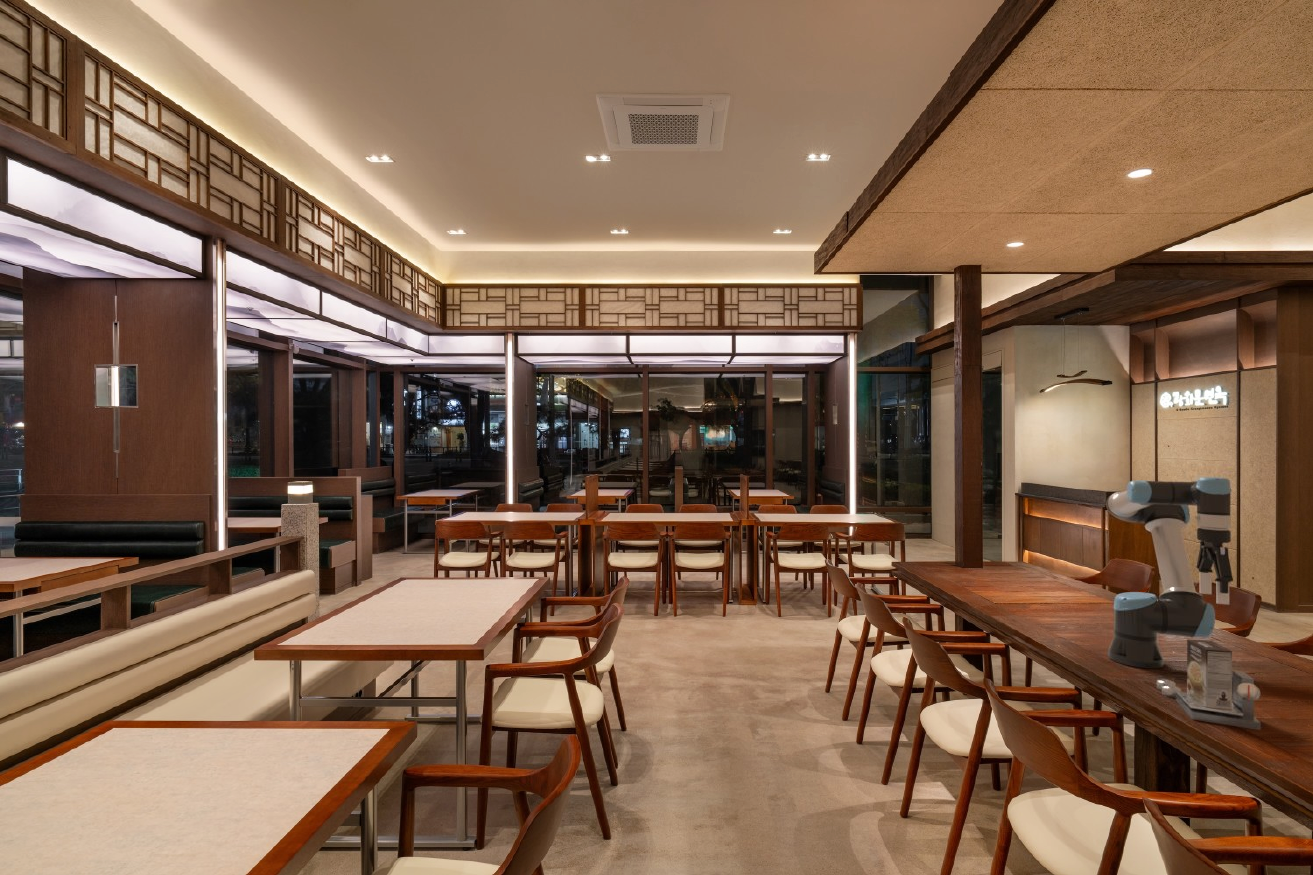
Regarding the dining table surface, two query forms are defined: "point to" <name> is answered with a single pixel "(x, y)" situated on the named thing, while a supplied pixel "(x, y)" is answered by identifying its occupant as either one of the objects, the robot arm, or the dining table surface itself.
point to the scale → (1236, 716)
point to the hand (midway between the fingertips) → (1213, 598)
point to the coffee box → (1209, 674)
